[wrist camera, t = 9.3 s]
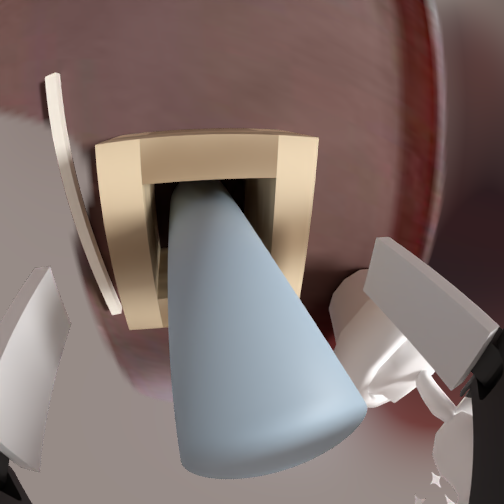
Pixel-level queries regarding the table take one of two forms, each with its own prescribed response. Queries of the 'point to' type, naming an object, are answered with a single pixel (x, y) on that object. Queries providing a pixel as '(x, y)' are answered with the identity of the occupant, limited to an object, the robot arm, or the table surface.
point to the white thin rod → (76, 191)
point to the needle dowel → (245, 349)
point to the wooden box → (191, 169)
